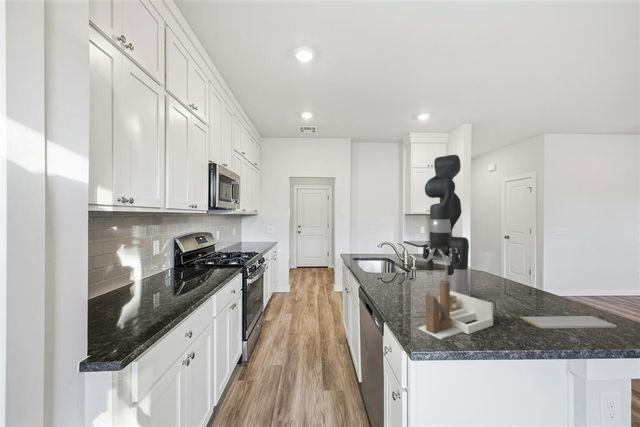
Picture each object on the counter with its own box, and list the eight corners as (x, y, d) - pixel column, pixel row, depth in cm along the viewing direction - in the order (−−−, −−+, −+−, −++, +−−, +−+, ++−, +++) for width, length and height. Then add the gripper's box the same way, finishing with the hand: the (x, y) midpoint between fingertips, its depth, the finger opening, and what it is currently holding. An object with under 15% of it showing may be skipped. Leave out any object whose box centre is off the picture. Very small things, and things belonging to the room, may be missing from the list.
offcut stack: (448, 312, 119) (448, 293, 119) (458, 316, 115) (458, 296, 115) (435, 316, 115) (435, 295, 115) (445, 320, 110) (445, 299, 110)
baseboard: (517, 317, 114) (540, 330, 102) (517, 311, 114) (541, 322, 102) (585, 316, 115) (617, 329, 103) (585, 310, 115) (617, 322, 103)
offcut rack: (450, 309, 122) (450, 290, 122) (493, 325, 105) (493, 303, 105) (426, 316, 114) (426, 296, 114) (468, 334, 98) (468, 310, 98)
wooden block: (425, 330, 100) (425, 283, 100) (443, 324, 105) (443, 279, 105) (433, 334, 96) (433, 285, 96) (451, 327, 102) (451, 282, 102)
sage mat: (439, 322, 108) (439, 321, 108) (461, 332, 99) (461, 330, 99) (418, 328, 102) (418, 327, 102) (440, 339, 93) (440, 337, 93)
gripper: (463, 231, 96) (463, 275, 96) (431, 229, 108) (431, 268, 109) (450, 232, 92) (450, 278, 92) (418, 230, 105) (418, 270, 105)
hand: (440, 272), depth 101 cm, fingers open, 8 cm apart
